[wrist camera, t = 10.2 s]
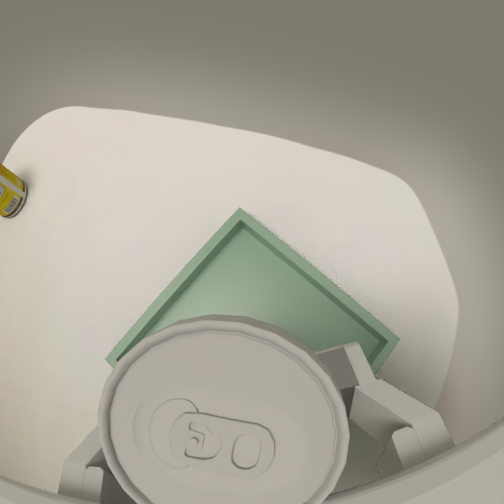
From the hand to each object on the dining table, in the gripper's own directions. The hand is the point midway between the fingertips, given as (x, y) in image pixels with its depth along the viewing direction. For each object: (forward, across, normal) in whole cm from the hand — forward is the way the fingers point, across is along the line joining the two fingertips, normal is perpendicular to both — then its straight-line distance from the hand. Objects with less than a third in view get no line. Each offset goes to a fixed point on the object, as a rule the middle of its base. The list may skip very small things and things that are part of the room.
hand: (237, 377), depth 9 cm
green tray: (+12, 0, +13) cm, 17 cm away
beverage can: (+5, 0, +6) cm, 7 cm away
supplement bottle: (+28, +29, -3) cm, 40 cm away
